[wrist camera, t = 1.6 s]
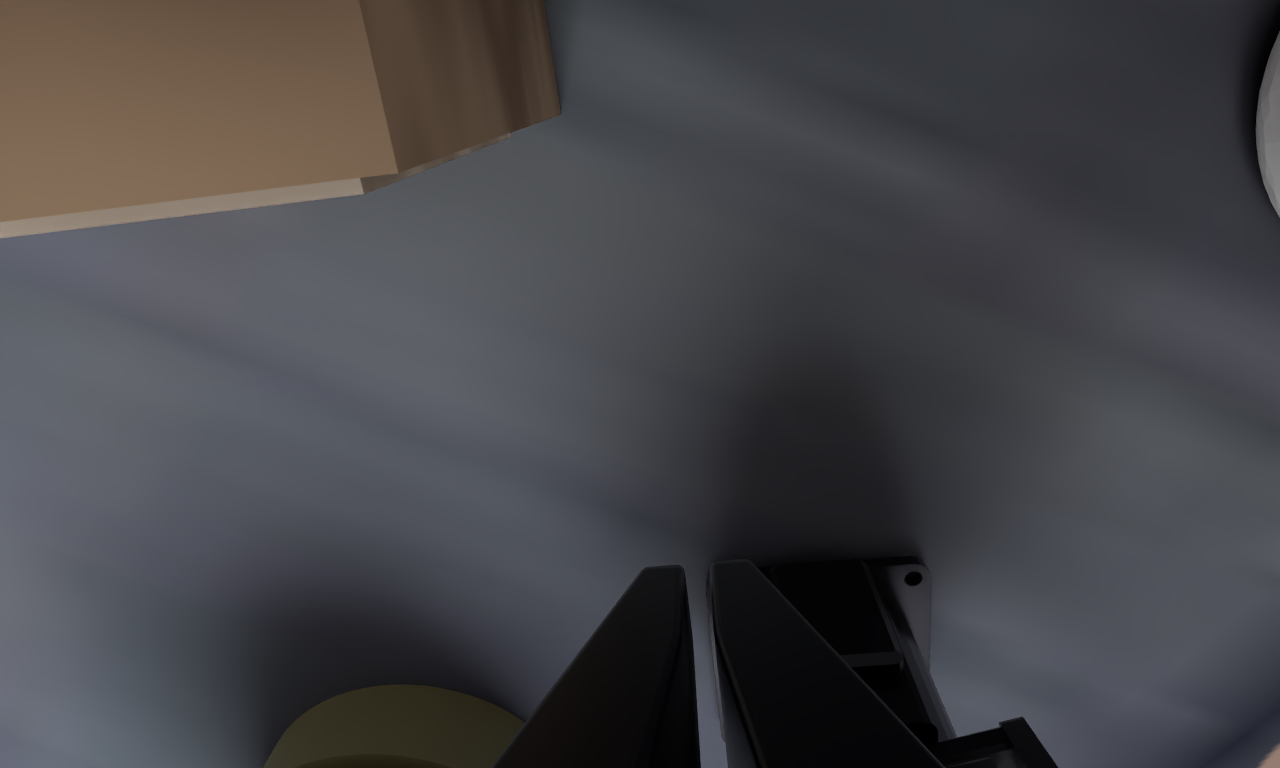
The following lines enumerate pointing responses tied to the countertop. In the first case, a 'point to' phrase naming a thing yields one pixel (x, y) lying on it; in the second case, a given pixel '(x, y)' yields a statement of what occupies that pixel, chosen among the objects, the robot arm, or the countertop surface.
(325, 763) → the piston
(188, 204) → the brown rectangular block
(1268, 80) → the supplement tub
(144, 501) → the countertop surface
